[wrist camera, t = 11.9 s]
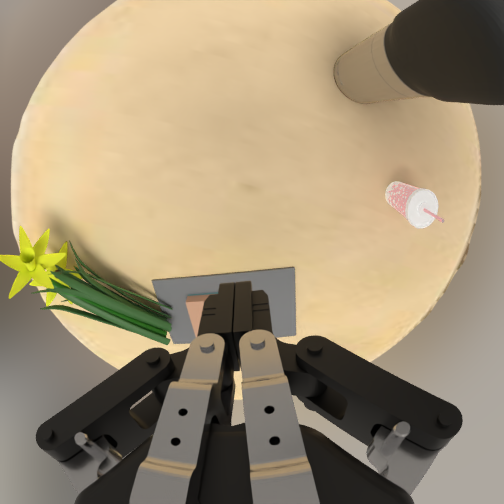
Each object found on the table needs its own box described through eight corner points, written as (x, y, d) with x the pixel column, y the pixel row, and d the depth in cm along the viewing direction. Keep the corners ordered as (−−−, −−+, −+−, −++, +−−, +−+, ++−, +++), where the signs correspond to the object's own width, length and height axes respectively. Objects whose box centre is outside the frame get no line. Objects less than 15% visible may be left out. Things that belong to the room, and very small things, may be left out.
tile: (247, 297, 47) (185, 302, 47) (252, 335, 51) (196, 339, 51) (247, 289, 49) (187, 294, 49) (252, 327, 53) (198, 330, 53)
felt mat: (294, 266, 48) (294, 267, 47) (295, 334, 54) (295, 335, 54) (152, 279, 48) (151, 280, 48) (173, 342, 55) (173, 343, 55)
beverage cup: (382, 213, 44) (425, 246, 31) (379, 179, 41) (426, 202, 28) (410, 207, 43) (456, 237, 30) (408, 174, 40) (458, 196, 28)
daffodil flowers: (147, 343, 56) (10, 277, 39) (173, 286, 58) (34, 212, 41) (164, 381, 42) (-19, 298, 24) (198, 310, 44) (8, 210, 26)
